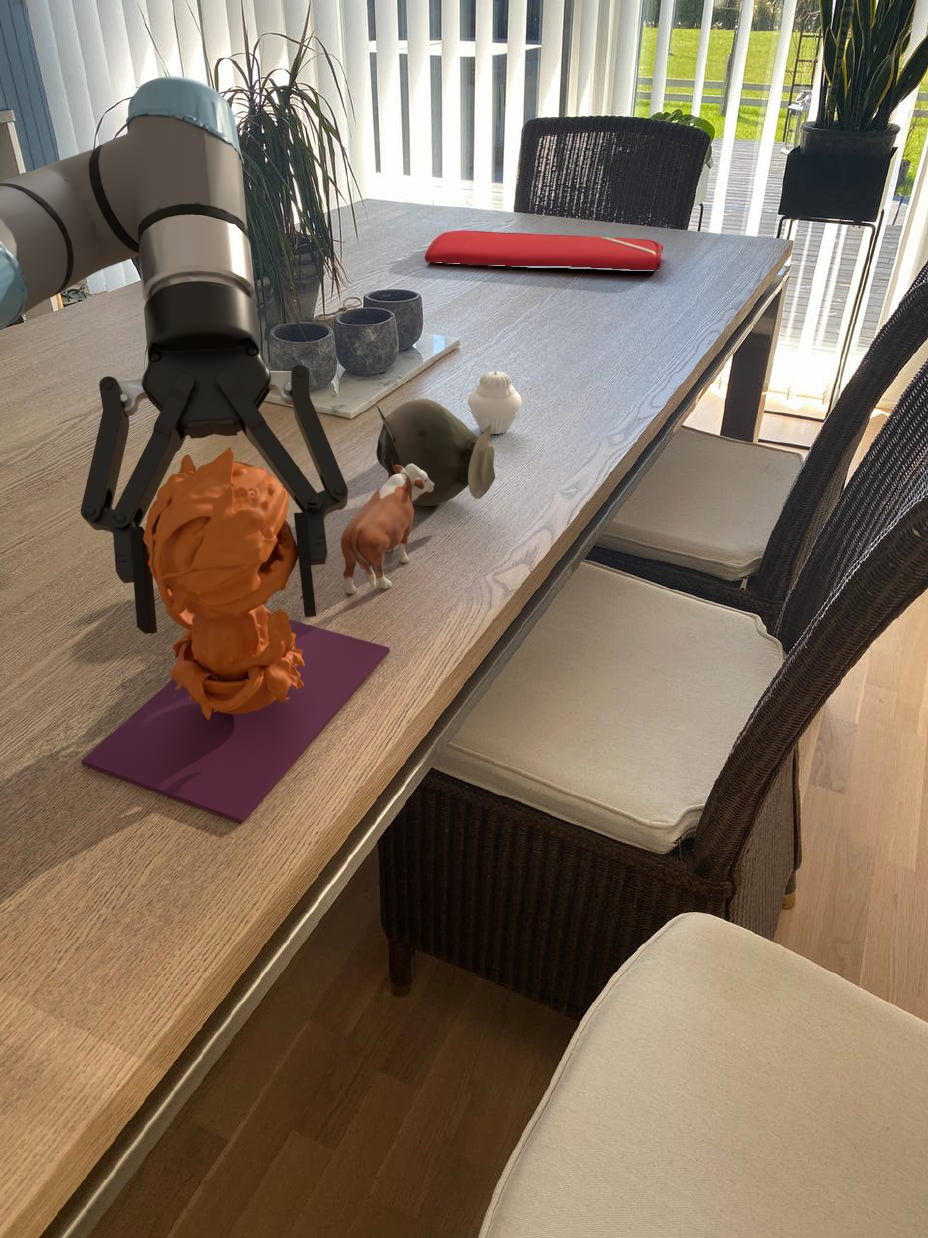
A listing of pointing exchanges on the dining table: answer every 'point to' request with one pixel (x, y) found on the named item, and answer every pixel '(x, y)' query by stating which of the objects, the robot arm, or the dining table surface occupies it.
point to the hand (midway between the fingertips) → (230, 621)
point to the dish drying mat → (544, 250)
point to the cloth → (236, 731)
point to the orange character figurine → (226, 582)
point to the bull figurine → (383, 525)
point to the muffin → (494, 402)
